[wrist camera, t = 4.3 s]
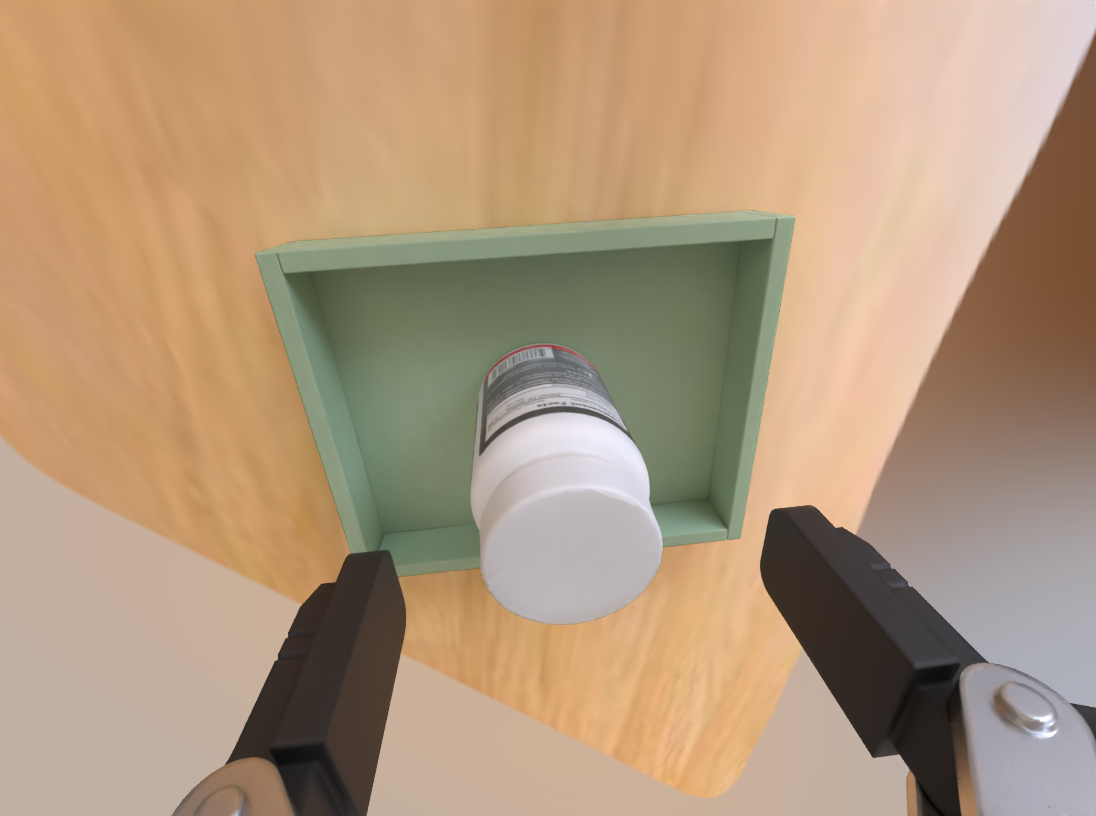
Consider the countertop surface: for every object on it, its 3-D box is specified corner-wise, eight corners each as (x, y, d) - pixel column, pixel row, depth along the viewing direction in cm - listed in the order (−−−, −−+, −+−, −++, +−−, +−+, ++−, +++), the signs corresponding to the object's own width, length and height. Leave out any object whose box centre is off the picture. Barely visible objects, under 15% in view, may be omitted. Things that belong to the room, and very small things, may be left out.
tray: (375, 537, 20) (359, 582, 18) (289, 241, 15) (252, 252, 13) (715, 500, 21) (741, 539, 19) (754, 210, 16) (796, 215, 13)
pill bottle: (577, 465, 19) (629, 653, 12) (463, 437, 18) (439, 624, 10) (623, 360, 17) (721, 503, 10) (499, 322, 16) (501, 449, 9)
